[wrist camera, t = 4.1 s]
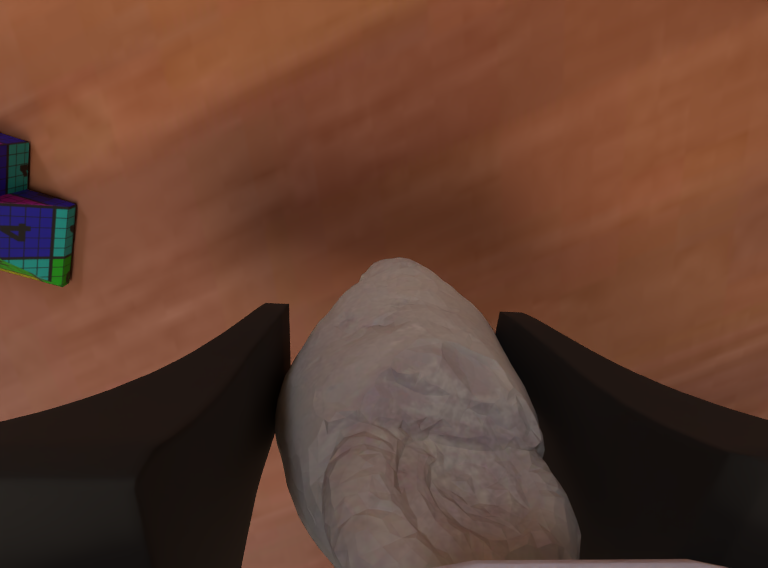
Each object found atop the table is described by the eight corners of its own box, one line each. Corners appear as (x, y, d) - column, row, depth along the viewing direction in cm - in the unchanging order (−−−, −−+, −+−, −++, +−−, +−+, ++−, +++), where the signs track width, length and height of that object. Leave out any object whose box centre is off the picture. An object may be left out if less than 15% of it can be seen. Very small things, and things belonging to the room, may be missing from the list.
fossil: (313, 354, 15) (228, 756, 6) (283, 263, 14) (111, 605, 4) (477, 321, 15) (654, 692, 6) (463, 225, 13) (672, 509, 4)
